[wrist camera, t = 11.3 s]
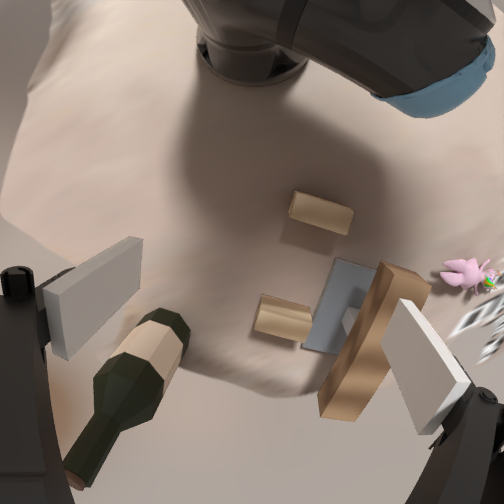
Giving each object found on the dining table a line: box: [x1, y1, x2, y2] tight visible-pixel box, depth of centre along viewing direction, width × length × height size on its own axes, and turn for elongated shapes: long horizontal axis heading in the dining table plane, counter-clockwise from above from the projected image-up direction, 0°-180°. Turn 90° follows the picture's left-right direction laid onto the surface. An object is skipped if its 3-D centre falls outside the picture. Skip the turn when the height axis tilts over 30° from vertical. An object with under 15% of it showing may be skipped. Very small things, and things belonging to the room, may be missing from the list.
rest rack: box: [254, 190, 355, 343], centre depth 38 cm, size 18×7×5 cm, turn 164°
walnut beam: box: [317, 261, 432, 422], centre depth 32 cm, size 20×5×4 cm, turn 164°
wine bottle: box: [62, 308, 191, 491], centre depth 31 cm, size 8×8×30 cm
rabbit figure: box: [440, 258, 502, 296], centre depth 36 cm, size 6×6×15 cm
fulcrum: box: [302, 258, 377, 355], centre depth 38 cm, size 14×11×8 cm
